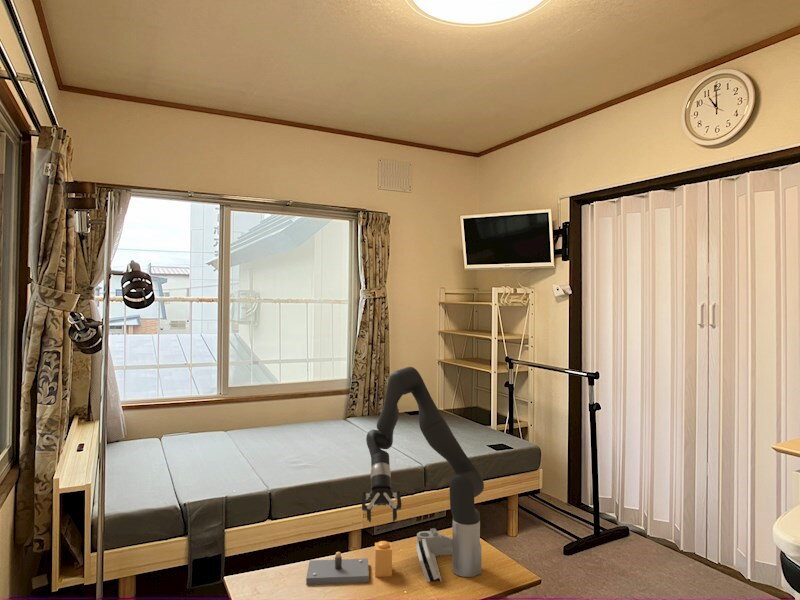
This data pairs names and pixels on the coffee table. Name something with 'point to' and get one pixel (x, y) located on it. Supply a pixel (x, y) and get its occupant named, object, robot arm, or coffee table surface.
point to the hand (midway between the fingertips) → (382, 521)
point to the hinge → (427, 561)
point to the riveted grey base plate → (337, 571)
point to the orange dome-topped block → (383, 559)
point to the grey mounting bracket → (436, 542)
